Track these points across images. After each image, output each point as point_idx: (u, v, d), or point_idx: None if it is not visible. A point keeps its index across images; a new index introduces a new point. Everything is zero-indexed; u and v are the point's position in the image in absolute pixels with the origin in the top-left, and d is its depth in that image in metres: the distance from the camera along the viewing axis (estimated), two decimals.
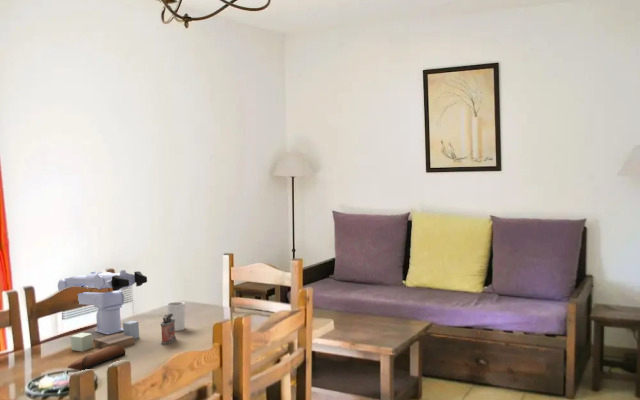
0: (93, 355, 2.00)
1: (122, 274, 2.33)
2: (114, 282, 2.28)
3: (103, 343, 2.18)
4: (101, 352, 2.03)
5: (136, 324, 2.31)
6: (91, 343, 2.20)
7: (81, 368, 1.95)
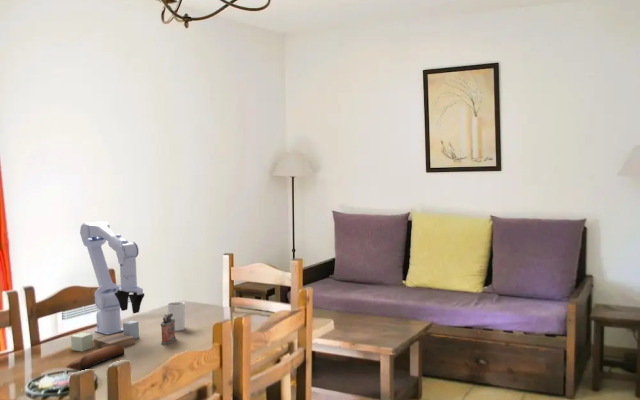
0: (92, 355, 2.00)
1: None
2: None
3: (103, 343, 2.18)
4: (100, 352, 2.03)
5: (136, 324, 2.31)
6: (91, 343, 2.20)
7: (79, 368, 1.96)
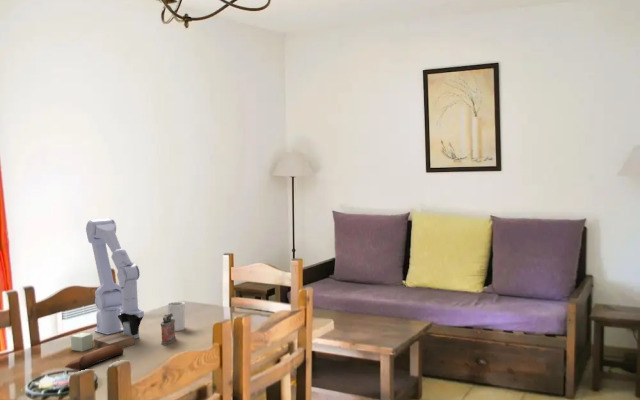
0: (91, 355, 2.00)
1: None
2: None
3: (103, 343, 2.18)
4: (99, 352, 2.03)
5: None
6: (91, 343, 2.20)
7: (78, 368, 1.96)
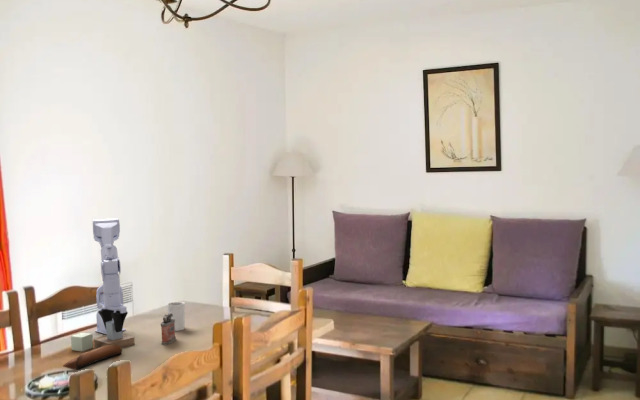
0: (88, 354, 2.01)
1: None
2: None
3: (103, 343, 2.18)
4: (96, 351, 2.04)
5: None
6: (91, 343, 2.20)
7: (75, 367, 1.97)
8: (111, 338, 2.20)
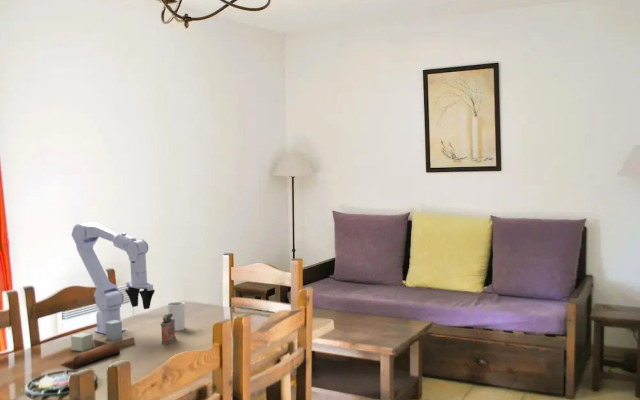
0: (85, 354, 2.02)
1: None
2: None
3: (103, 343, 2.18)
4: (94, 351, 2.04)
5: (119, 324, 2.22)
6: (91, 343, 2.20)
7: (73, 366, 1.97)
8: (111, 338, 2.20)
